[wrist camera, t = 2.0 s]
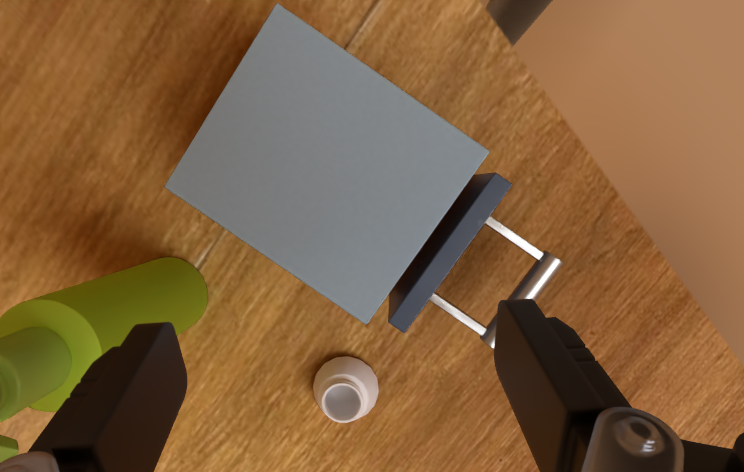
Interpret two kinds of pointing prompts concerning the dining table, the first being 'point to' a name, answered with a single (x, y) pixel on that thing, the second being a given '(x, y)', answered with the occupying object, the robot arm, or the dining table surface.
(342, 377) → the white jar
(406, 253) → the drawer unit
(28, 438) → the dining table surface
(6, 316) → the soap dispenser
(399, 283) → the compartment
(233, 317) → the dining table surface
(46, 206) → the dining table surface
